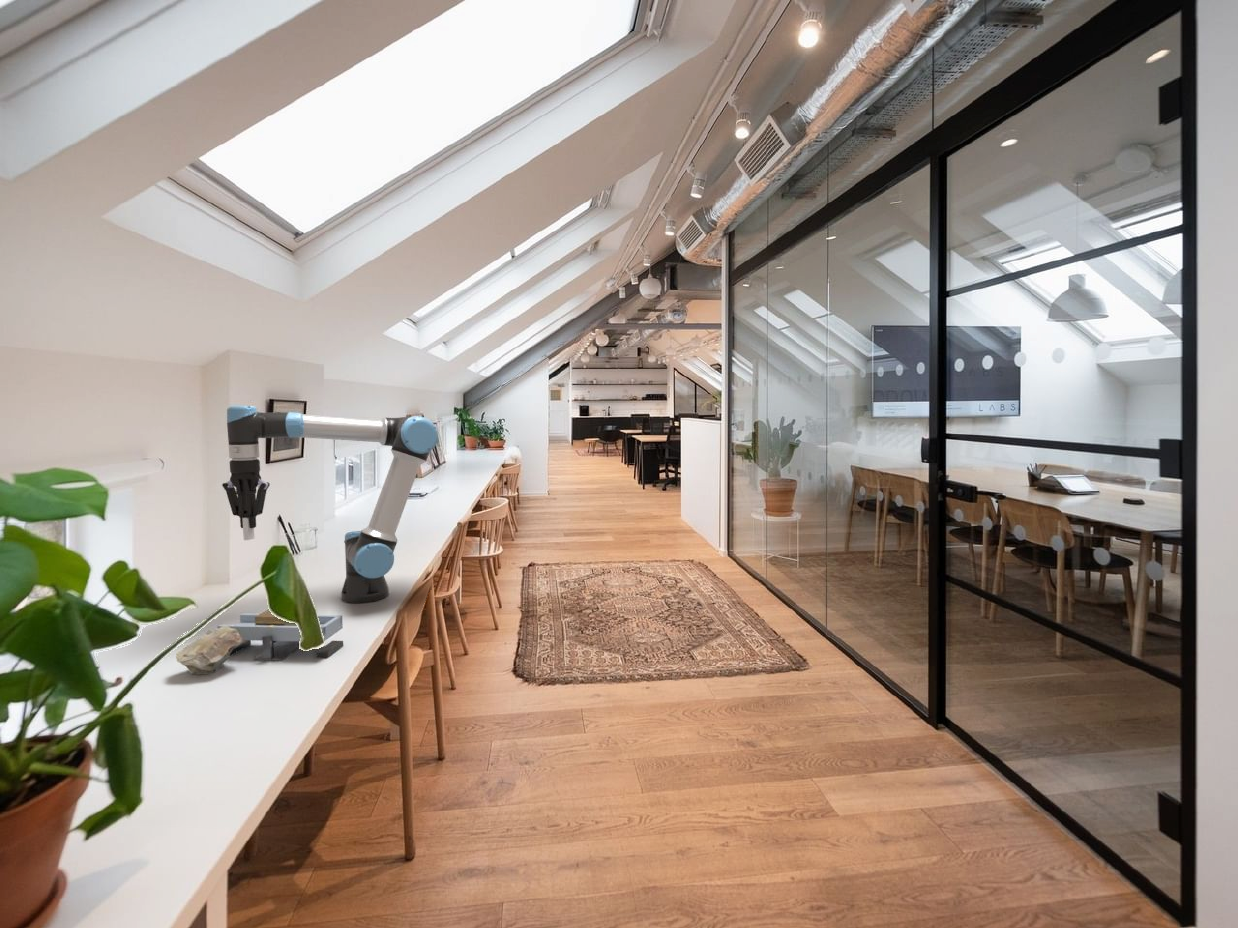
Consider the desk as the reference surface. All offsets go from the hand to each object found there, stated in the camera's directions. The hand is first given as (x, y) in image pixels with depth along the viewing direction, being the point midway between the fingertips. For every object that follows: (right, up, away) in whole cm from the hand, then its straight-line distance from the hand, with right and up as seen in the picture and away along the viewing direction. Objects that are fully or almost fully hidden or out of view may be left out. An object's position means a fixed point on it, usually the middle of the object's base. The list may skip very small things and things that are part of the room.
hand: (249, 539), depth 181 cm
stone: (+8, -29, -30) cm, 43 cm away
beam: (+19, -22, -17) cm, 34 cm away
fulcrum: (+19, -28, -16) cm, 37 cm away
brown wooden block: (+18, -22, -17) cm, 33 cm away
